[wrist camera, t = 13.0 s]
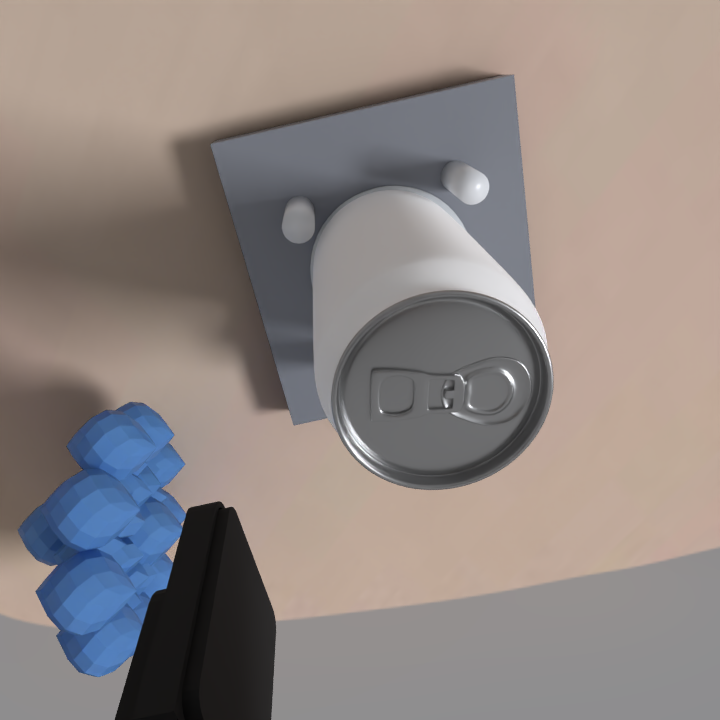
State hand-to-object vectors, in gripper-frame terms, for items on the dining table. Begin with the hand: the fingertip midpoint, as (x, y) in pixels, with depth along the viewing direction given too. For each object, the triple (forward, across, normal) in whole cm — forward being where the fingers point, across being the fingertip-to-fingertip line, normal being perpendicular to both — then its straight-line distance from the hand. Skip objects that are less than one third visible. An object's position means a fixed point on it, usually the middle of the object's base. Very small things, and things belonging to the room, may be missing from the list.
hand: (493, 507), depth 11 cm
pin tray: (+18, 0, +1) cm, 18 cm away
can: (+17, 0, 0) cm, 17 cm away
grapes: (+18, +14, +8) cm, 24 cm away
